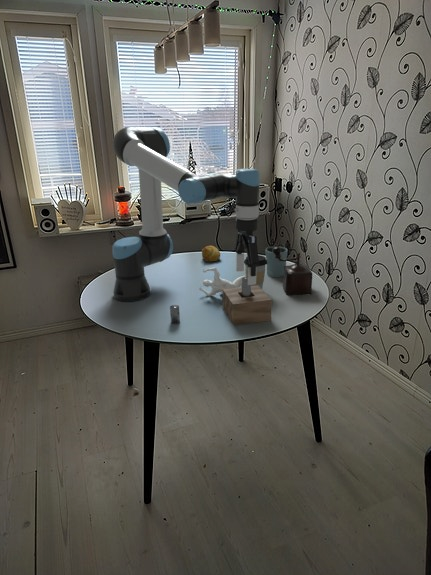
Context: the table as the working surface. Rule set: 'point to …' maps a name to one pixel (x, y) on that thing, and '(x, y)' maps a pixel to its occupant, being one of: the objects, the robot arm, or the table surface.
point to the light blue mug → (275, 262)
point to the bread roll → (210, 253)
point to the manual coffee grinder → (295, 276)
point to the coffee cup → (258, 270)
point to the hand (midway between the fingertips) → (245, 277)
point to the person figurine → (219, 283)
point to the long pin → (246, 288)
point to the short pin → (174, 314)
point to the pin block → (246, 305)
